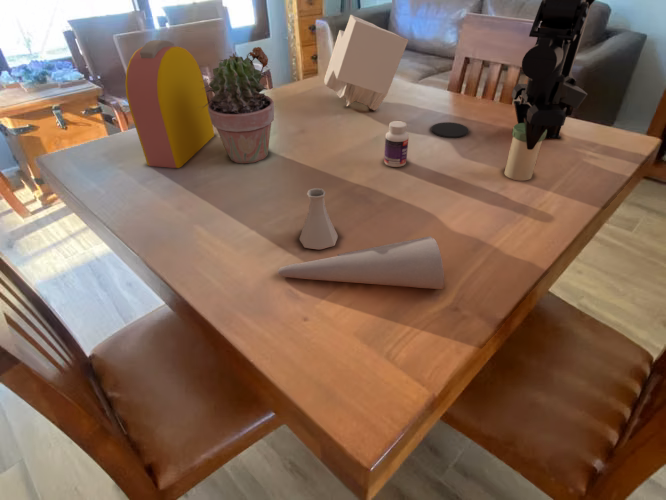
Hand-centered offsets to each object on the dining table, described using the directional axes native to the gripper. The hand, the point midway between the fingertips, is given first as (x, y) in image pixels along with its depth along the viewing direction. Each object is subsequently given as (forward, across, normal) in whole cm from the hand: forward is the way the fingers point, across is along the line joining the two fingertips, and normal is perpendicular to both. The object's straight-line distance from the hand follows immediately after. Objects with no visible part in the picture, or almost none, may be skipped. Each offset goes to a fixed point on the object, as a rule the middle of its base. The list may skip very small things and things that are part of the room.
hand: (526, 143), depth 93 cm
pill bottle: (+8, +4, +28) cm, 29 cm away
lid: (-3, 0, 0) cm, 3 cm away
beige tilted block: (+8, +45, +39) cm, 60 cm away
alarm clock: (+8, +8, +84) cm, 85 cm away
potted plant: (+8, +5, +66) cm, 67 cm away
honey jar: (+8, 0, 0) cm, 8 cm away
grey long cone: (+9, -41, +33) cm, 54 cm away
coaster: (+7, +25, +13) cm, 29 cm away
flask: (+9, -29, +42) cm, 52 cm away
